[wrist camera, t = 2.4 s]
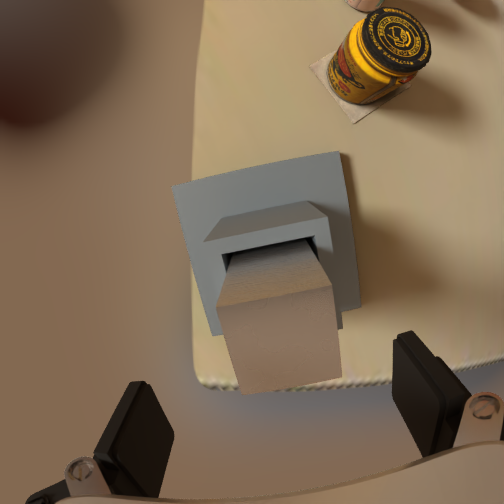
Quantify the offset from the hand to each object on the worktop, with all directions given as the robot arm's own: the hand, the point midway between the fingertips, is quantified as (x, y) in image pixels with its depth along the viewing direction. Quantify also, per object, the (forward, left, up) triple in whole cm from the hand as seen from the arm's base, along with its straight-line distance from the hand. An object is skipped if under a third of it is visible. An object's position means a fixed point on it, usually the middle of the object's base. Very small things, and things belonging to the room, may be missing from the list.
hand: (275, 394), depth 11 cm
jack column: (0, 0, -20) cm, 20 cm away
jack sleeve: (0, 0, -22) cm, 22 cm away
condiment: (+2, -20, -22) cm, 30 cm away
